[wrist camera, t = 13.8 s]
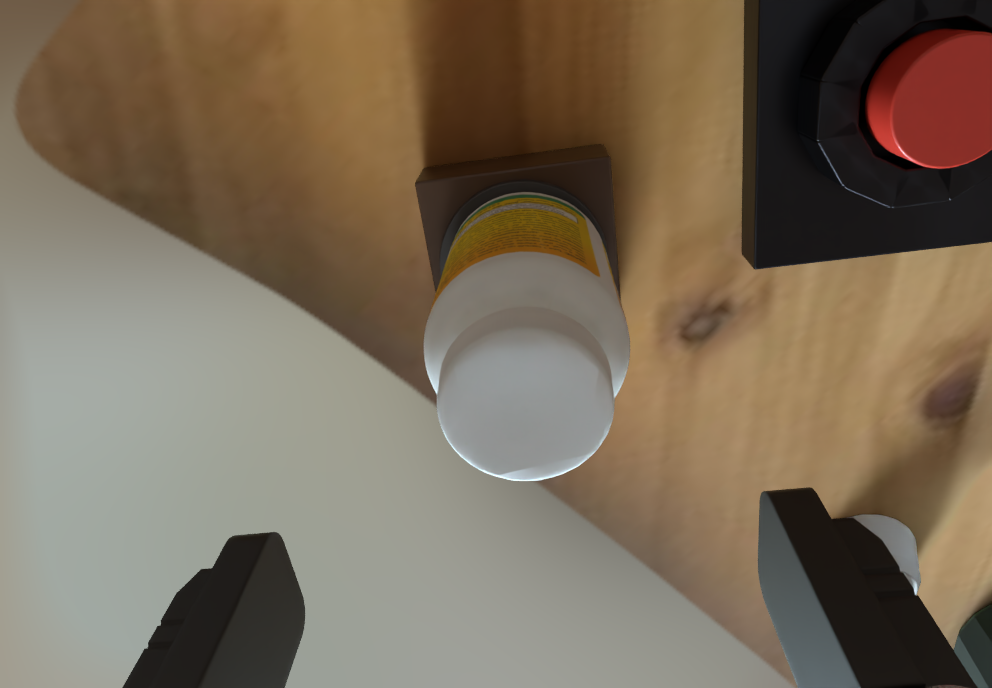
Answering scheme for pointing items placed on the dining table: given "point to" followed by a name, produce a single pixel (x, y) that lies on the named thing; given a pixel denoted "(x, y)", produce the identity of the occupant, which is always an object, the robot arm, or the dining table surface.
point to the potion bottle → (977, 647)
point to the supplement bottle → (526, 339)
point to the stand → (553, 173)
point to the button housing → (844, 137)
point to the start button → (934, 98)
